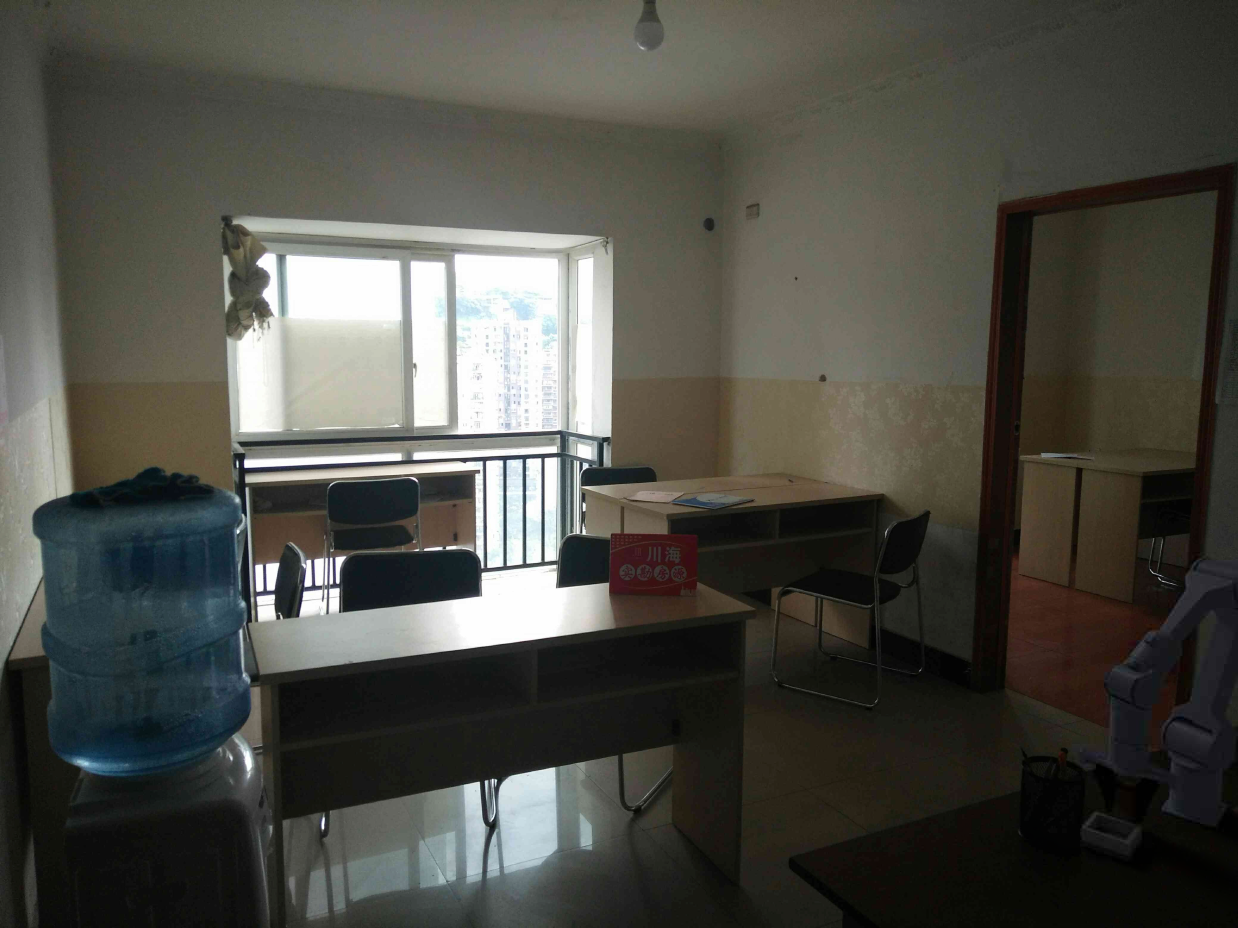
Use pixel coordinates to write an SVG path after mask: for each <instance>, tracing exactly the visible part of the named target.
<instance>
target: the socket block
mask: <svg viewBox="0 0 1238 928" xmlns="http://www.w3.org/2000/svg"><path fill="white" fill-rule="evenodd" d="M1081 827H1082V828H1081ZM1081 827H1080V836H1081V837H1082V838H1081V845H1080V846H1081V847H1085V848H1087V849H1090V850H1093V851H1095V852H1099V853H1102V854H1104V855H1107V856H1110V857H1112V858H1115V859H1118V860H1122V861H1124V862H1127V863H1129V862H1130V861H1131V859H1132V858H1133V856H1134V855H1135V854H1136V852H1137V851H1138V849H1139V848H1140V846H1141V845H1142V841H1143V826H1141V825H1140V824H1139V825H1136V824H1133V823H1130V822H1126V821H1123V820H1120V819H1117V818H1114V817H1112V815H1111V816H1110V815H1107V814H1105V813H1101V812H1098V811H1094V812H1093V813H1092V814H1091V815H1090V816H1089V818H1088V819H1087V820H1085V822H1084V824H1082V826H1081Z"/></svg>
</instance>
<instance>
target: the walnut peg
mask: <svg viewBox="0 0 1238 928" xmlns="http://www.w3.org/2000/svg"><path fill="white" fill-rule="evenodd" d="M1136 787H1137V784H1135V783H1134V782H1131V781H1127V780H1116V782H1114V783H1113V796H1112V812H1111V817H1114V818H1117V819H1120V820H1123V821H1126V822H1130V823H1133V824H1136V825H1139V826H1140V823H1139V822H1137V819H1136V816H1137V807H1138V796H1137V788H1136Z"/></svg>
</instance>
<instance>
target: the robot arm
mask: <svg viewBox="0 0 1238 928" xmlns="http://www.w3.org/2000/svg"><path fill="white" fill-rule="evenodd" d="M1184 579H1185V581H1184V582H1185V590H1184V592H1183V593H1182V595H1181V597H1180V598H1179V599H1178V601H1177V602H1176V604H1175V606H1174V608H1173V609H1172V610H1171V612H1170V613H1169V615H1168V616H1167V618H1166V620H1165V621H1164V623H1163V624H1162V626H1161V627H1160V629H1156V630H1151V631H1148V632H1146V634H1145V635H1144V637H1143V638H1141V639H1142V640H1140V642H1138V644H1137V646H1135V648H1134V649H1133V651H1132V652H1131V653H1130V654H1129V656H1128V657H1127V658H1126V660H1125V661H1124V662H1123V663H1121V664H1118V665H1113V666H1112V667H1110V668H1109V669H1108V670H1107V672H1106V674H1105V676H1104V677H1105V679H1103V680H1102V688H1103V690H1104V692H1105V693H1106V695H1107V704H1108V705H1109V707H1110V713H1109V714H1110V716H1109V733H1108V734H1109V736H1108V738H1109V739H1108V752H1106V751H1099V750H1093V749H1088V748H1086V747H1085V748H1084V747H1083V748H1081V749H1080V750H1079V752H1078V763H1081V764H1090V765H1094V766H1095V768H1094V770H1093V771H1092V774H1093V778H1094V779H1095V781H1096V783H1097V785H1098V787H1099V790H1100V792H1101V795H1102V797H1103V801H1104V806H1105V812H1107V813H1109V814H1112V796H1113V783H1114V782H1116V781H1117V776H1121V777H1128V776H1131V777H1134V778H1137V779H1140V780H1139V782H1138V783H1137V784H1136V785H1137V787H1136V788H1137V796H1138V807H1137V816H1136V819H1137V822H1139V824H1142V823H1143V822H1144V821H1145V819H1146V815H1147V811H1148V808H1149V806H1150V804H1151V802H1152V799H1153V798H1154V795H1155V794H1156V792H1157V791H1158V790H1159V788H1160V786H1164V787H1168V788H1167V789H1169V797H1168V798H1167V800H1166V801H1165V803H1163V805H1162V807H1161V812H1163V813H1165V814H1169V815H1172V816H1175V817H1179V818H1182V819H1185V820H1188V821H1192V822H1194V823H1198V824H1202V825H1204V826H1207V827H1211V828H1216V827H1217V826H1218V825H1219V823H1220V821H1221V819H1222V818H1223V816H1224V814H1225V812H1226V811H1227V809H1228V804H1226V803H1223V802H1222V791H1223V790H1222V789H1223V788H1222V787H1223V775H1224V774H1223V771H1226V770H1227V769H1228V768H1229V767H1230V766H1231V765H1232V764H1233V763H1234V761H1235V759H1236V753H1237V749H1236V744H1237V743H1236V741H1237V737H1238V731H1237V729H1236V727H1235V726H1234V725H1233V723H1232V722H1231V721H1230V720H1229V718H1228V717H1227V716H1226V713H1227V711H1228V707H1229V705H1230V702H1231V699H1232V695H1233V691H1234V689H1235V686H1236V683H1237V679H1238V564H1234V563H1229V562H1226V561H1221V560H1216V559H1213V558H1210V557H1206V556H1203V557H1200V558H1198V559H1196V560H1195V561H1194V562H1193V564H1192V565H1191V567H1190V569H1189V571H1187V572H1186V574H1185V577H1184ZM1211 612H1213V613H1214V615H1215V616H1216V619H1215V622H1214V625H1213V628H1212V631H1211V634H1210V637H1209V640H1208V644H1207V647H1206V649H1205V653H1204V655H1203V659H1202V662H1201V664H1200V668H1199V671H1198V674H1197V677H1196V681H1195V683H1194V686H1193V689H1192V692H1191V696H1190V698H1189V701H1188V702H1187V703H1184V704H1181V705H1177V706H1175V707H1173V708H1172V711H1171V713H1170V716H1169V717H1168V719H1166V721H1165V722H1164V724H1163V725H1162V727H1161V729H1160V742H1161V745H1162V746H1163V747H1164V748H1165V749H1166V750H1167V756H1168V757H1170V758H1171V759H1170V761H1171V762H1170V771H1167V770H1165V769H1164V768H1161V767H1158V766H1156V765H1154V764H1151V763H1149V752H1150V733H1151V730H1150V729H1151V713H1152V712H1151V711H1152V707H1153V706H1154V705H1155V704H1156V703H1157V702H1158V701H1159V700H1160V698H1161V695H1162V690H1163V686H1164V685H1165V681H1166V680H1165V677H1166V676H1167V674H1168V673H1169V671H1171V670H1172V668H1173V667H1174V665H1176V663H1177V661H1178V660H1179V659H1180V658H1181V657H1182V655H1183V653H1184V652H1183V647H1182V642H1183V641H1184V640H1185V639H1186V638H1187V637H1188V636H1189V634H1190V633H1192V631H1194V630H1195V628H1196V627H1197V626H1198V625H1199V624H1200V623H1201V622H1202V621H1204V618H1205V617H1207V615H1209V613H1211ZM1195 722H1196V723H1195ZM1200 724H1201V725H1200ZM1202 725H1204V726H1202Z"/></svg>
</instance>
